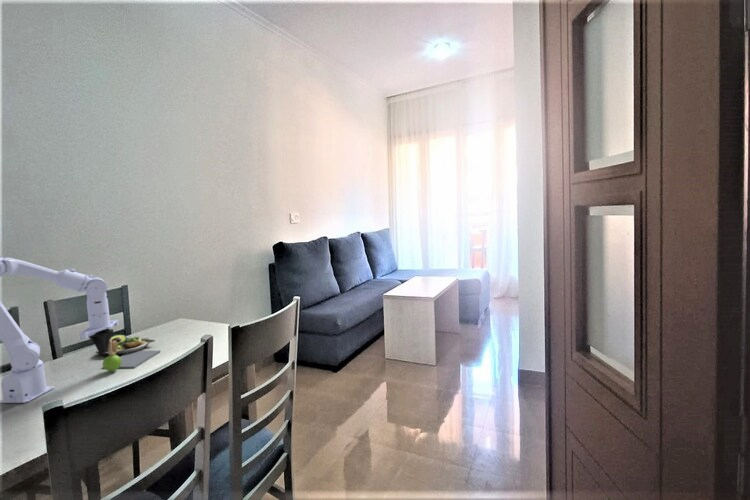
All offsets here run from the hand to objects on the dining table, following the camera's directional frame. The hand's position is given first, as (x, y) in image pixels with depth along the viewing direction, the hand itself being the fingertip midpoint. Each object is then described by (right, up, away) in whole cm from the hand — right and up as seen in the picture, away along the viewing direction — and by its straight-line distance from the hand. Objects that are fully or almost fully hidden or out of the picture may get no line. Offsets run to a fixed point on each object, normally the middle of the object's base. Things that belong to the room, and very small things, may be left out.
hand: (103, 352), depth 126 cm
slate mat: (+1, -7, +14) cm, 16 cm away
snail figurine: (0, -8, +3) cm, 8 cm away
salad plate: (-10, -6, +26) cm, 28 cm away
